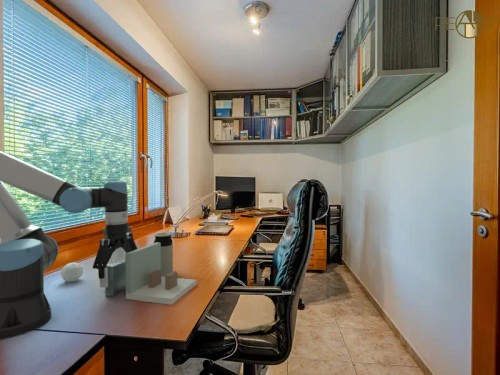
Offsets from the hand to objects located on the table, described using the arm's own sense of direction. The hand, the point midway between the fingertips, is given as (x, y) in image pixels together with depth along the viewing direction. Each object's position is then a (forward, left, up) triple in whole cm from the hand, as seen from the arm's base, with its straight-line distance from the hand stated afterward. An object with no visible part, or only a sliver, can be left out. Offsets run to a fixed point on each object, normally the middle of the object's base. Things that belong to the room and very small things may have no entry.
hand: (118, 279), depth 98 cm
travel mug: (+22, -5, -5) cm, 23 cm away
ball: (+5, +27, -5) cm, 28 cm away
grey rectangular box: (0, 0, -5) cm, 5 cm away
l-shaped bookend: (+5, -16, -5) cm, 17 cm away
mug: (+26, +24, -5) cm, 36 cm away
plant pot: (+43, +38, -5) cm, 58 cm away
